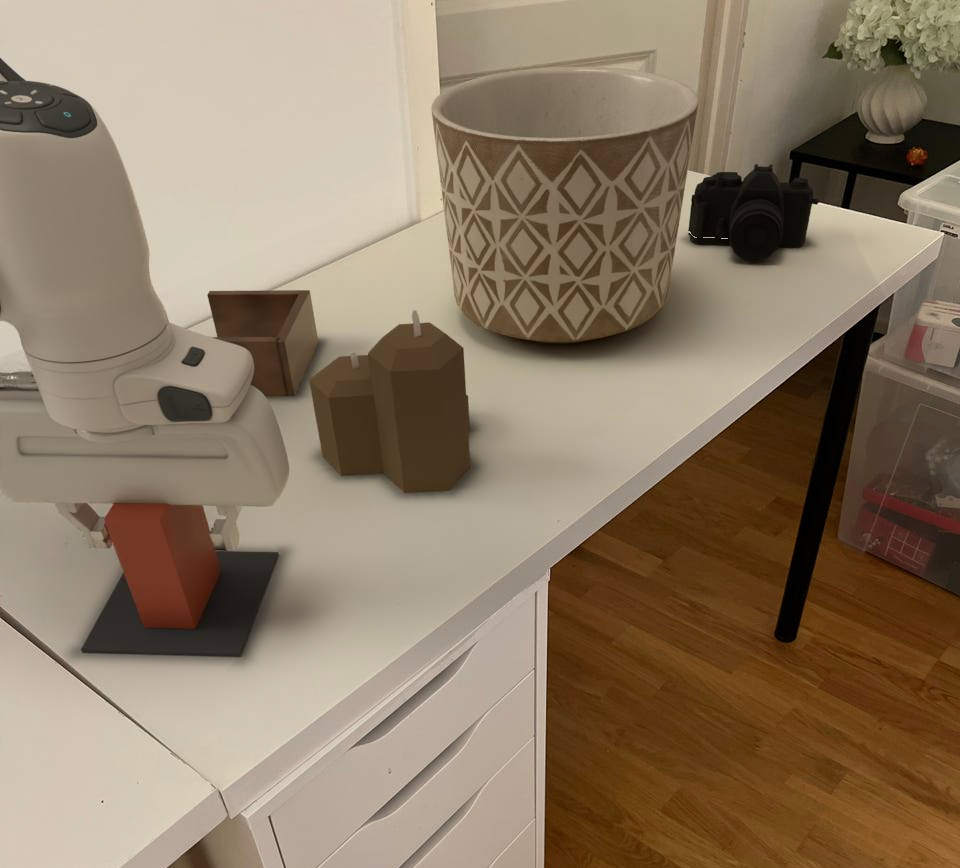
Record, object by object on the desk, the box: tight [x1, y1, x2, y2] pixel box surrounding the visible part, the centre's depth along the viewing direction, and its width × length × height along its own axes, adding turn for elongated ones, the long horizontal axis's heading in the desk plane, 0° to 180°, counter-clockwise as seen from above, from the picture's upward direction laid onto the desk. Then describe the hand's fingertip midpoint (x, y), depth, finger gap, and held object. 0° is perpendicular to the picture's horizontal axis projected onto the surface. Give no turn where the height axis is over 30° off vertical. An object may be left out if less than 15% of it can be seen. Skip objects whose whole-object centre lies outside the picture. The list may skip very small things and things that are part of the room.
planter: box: [430, 66, 699, 344], centre depth 102 cm, size 26×26×22 cm
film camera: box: [687, 163, 820, 263], centre depth 118 cm, size 15×10×9 cm, turn 77°
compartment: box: [207, 289, 319, 397], centre depth 101 cm, size 11×12×6 cm
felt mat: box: [80, 550, 280, 658], centre depth 75 cm, size 12×12×1 cm
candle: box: [308, 309, 471, 494], centre depth 84 cm, size 14×14×15 cm
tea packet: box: [104, 503, 221, 629], centre depth 71 cm, size 4×7×10 cm, turn 175°
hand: (165, 544), depth 71 cm, fingers open, 8 cm apart
